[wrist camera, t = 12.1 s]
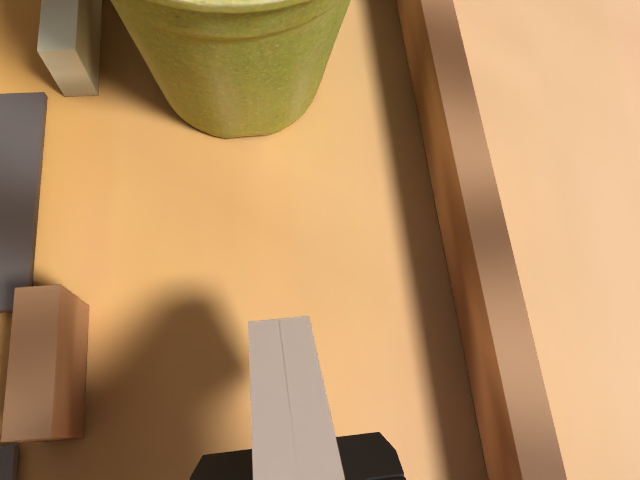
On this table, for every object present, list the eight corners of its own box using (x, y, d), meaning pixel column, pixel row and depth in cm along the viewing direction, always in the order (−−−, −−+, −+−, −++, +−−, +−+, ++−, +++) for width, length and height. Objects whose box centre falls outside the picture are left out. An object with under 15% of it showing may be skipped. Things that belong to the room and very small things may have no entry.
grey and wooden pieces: (592, 788, 14) (709, 915, 10) (-365, 976, 12) (-669, 1231, 8) (412, -53, 24) (438, -145, 20) (-125, -49, 21) (-209, -152, 18)
